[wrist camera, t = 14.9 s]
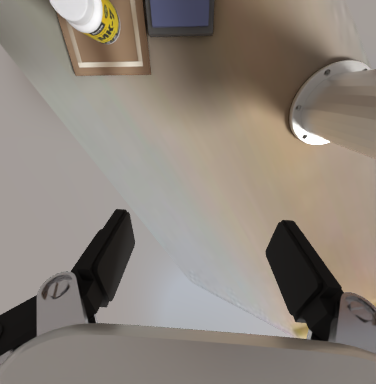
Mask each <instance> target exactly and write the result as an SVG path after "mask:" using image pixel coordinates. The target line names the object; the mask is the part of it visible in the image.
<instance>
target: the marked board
mask: <svg viewBox="0 0 376 384" xmlns="http://www.w3.org/2000/svg"><path fill="white" fill-rule="evenodd" d="M109 1H110V2H111V3H112V5H113V6H114V7H115V9H116V11H117V13H118V15H119V19H120V34H119V37H118V38H117V40H116V41H115V42H114V43H112V44H103V43H100V42H98V41H96V40H95V39H93V38H91V37H89V36H87V35H85V34H83V33H82V32H80V31H78V30H76V29H75V28H74V27H72V26H71V25H70V24H69V23H68V21H67V20H66V19H65V18H63V17H62V16H61V15H60V14H58V13H57V11H56V13H57V16H58V19H59V23H60V26H61V29H62V32H63V36H64V39H65V42H66V45H67V49H68V52H69V55H70V58H71V62H72V65H73V68H74V72H75V75H76V76H91V75H149V74H151V68H150V59H149V50H148V40H147V31H146V22H145V12H144V3H143V0H109Z"/></svg>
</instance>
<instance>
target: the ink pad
mask: <svg viewBox="0 0 376 384" xmlns="http://www.w3.org/2000/svg"><path fill="white" fill-rule="evenodd" d="M145 3H146V13H147V23H148V32H149V36H150V37H167V36H212V34H213V19H214V0H145Z"/></svg>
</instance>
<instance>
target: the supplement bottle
mask: <svg viewBox="0 0 376 384" xmlns="http://www.w3.org/2000/svg"><path fill="white" fill-rule="evenodd" d="M49 1H50V3H51V4H52V6H53V8H54V9H55V10H56V11H57V13H58V14H60V15H61V16H62V17H63V18H65V19H66V20H67V21H68V23H69V24H70V25H71V26H72V27H74V28H75V29H76V30H78V31H80V32H82V33H83V34H85V35H87V36H89V37H91V38H93V39H95V40H96V41H98V42H100V43H103V44H112V43H114V42H115V41H116V40H117V38H118V37H119V34H120V19H119V15H118V13H117V11H116V9H115V7H114V6H113V5H112V3H111V2H110V1H109V0H49Z"/></svg>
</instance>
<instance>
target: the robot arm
mask: <svg viewBox="0 0 376 384" xmlns="http://www.w3.org/2000/svg"><path fill="white" fill-rule="evenodd" d="M324 72H325V73H324ZM296 106H297V108H296ZM289 124H290V128H291V130H292V132H293V134H294V135H295V136H296V137H297V139H299V140H301V141H302V142H305V143H307V144H312V145H320V144H326V143H329V142H332V143H334V144H337V145H340V146H342V147H345V148H348V149H350V150H353V151H356V152H358V153H361V154H363V155H366V156H369V157H371V158H374V159H376V69H373V70H371V69H370V67H369V66H367V65H366V64H365V63H363V62H361V61H358V60H344V61H339V62H334V63H332V64H329V65H327V66H325V67H323V68H322V69H320V70H318V71H317V72H316V73H314V74H313V75H312V76H311V77H310V78H309V79H308V80H307V81H306V82H305V83H304V84H303V85H302V87H301V88H300V90H299V91H298V93H297V94H296V96H295V98H294V100H293V103H292V106H291V109H290V115H289ZM134 245H135V240H134V234H133V229H132V224H131V219H130V214H129V212H127V211H126V210H121V209H116V210H115V211H114V213H113V215H112V216H111V217H110V219H109V220H108V222H107V223H106V225H105V226H104V228H103V229H101V230H99V232H98V233H97V234H96V236H95V237H94V238H93V240H92V241H91V243H90V244H89V246H88V247H87V249H86V250H85V251H84V253H83V254H82V256H81V257H80V259H79V260H78V262H77V263H76V264H75V266H74V267H73V269H72V270H71V272H68V271H66V272H61V273H58V274H56V275H54V276H52V277H50V278H49V279H48V280H47V281H45V282H44V283H43V285H42V286H41V287H40V289H39V291H38V294H37V295H36V296H34V297H33V298H31V299H29V300H27V301H25V302H24V303H22V304H20V305H18V306H16V307H14V308H12V309H11V310H9V311H7V312H5V313H3V314H2V315H0V384H376V307H375V306H374V305H373V304H371V303H370V302H369V301H368V300H366V299H365V298H363V297H361V296H359V295H357V294H355V293H351V292H345V293H344V292H343V291H342V289H341V288H342V287H341V286H340V285H339V283H338V282H337V280H336V279H335V278H334V276H333V275H332V273H331V272H330V271H329V269H328V268H327V266H326V265H325V264H324V262H323V261H322V259H321V258H320V257H319V255H318V254H317V252H316V251H315V250H314V248H313V247H312V246H311V244H310V243H309V241H308V240H307V239H306V237H305V236H304V234H303V233H302V232H301V230H300V229H299V227H298V226H297V225H296V223H295V222H294V221H289V220H282V221H281V222H279V223H278V225H277V227H276V229H275V232H274V234H273V236H272V238H271V240H270V243H269V245H268V247H267V249H266V257H267V259H268V262H269V264H270V266H271V269H272V271H273V274H274V276H275V279H276V281H277V284H278V286H279V289H280V291H281V294H282V296H283V299H284V301H285V303H286V306H287V308H288V311H289V313H290V314H291V315H293V317H294V319H295V322H301V323H306V324H307V326H308V328H309V331H308V335H307V339H300V338H290V337H278V336H266V335H253V334H243V333H230V332H217V331H205V330H192V329H180V328H179V329H178V328H165V327H152V326H139V325H123V324H122V325H121V324H104V323H98V322H97V318H96V313H97V311H98V309H99V307H107V305H108V303H109V301H112V300H113V298H114V296H115V293H116V291H117V288H118V286H119V283H120V281H121V278H122V275H123V273H124V270H125V268H126V265H127V263H128V261H129V258H130V256H131V253H132V251H133V248H134Z"/></svg>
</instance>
